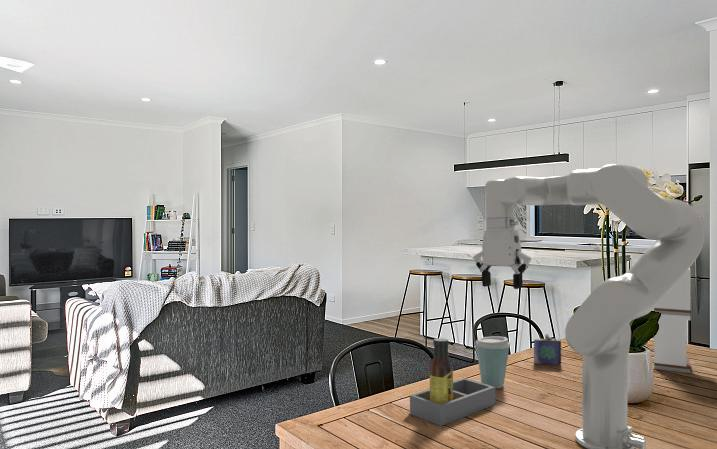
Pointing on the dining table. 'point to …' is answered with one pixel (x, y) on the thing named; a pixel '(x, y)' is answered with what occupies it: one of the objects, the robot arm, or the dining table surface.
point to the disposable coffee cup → (492, 359)
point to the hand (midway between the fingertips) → (501, 287)
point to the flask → (547, 351)
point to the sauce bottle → (441, 373)
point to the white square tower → (673, 327)
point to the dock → (453, 402)
